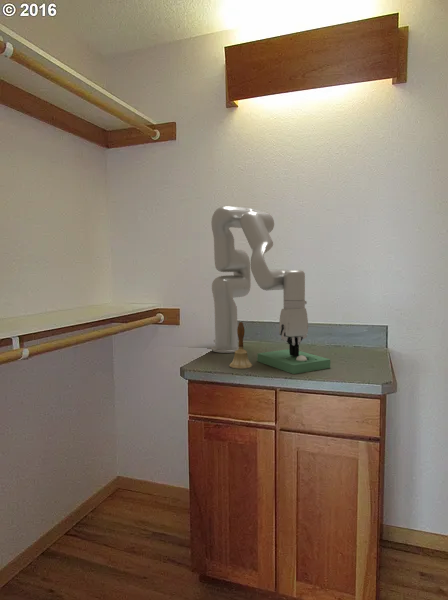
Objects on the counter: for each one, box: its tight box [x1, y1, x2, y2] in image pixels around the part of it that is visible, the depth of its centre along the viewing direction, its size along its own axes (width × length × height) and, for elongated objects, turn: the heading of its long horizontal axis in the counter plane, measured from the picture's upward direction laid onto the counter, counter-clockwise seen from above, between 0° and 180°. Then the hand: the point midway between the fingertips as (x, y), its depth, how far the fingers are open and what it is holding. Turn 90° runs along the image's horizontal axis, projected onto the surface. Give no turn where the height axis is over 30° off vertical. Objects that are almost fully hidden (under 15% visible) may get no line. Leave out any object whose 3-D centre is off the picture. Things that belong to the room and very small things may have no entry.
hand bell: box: [228, 321, 253, 370], centre depth 156 cm, size 8×8×16 cm
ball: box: [296, 355, 307, 361], centre depth 153 cm, size 4×4×4 cm
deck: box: [256, 348, 331, 375], centre depth 158 cm, size 22×16×3 cm
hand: (294, 355), depth 157 cm, fingers closed
